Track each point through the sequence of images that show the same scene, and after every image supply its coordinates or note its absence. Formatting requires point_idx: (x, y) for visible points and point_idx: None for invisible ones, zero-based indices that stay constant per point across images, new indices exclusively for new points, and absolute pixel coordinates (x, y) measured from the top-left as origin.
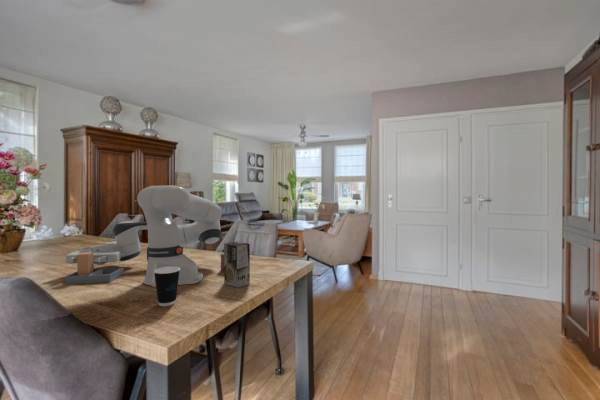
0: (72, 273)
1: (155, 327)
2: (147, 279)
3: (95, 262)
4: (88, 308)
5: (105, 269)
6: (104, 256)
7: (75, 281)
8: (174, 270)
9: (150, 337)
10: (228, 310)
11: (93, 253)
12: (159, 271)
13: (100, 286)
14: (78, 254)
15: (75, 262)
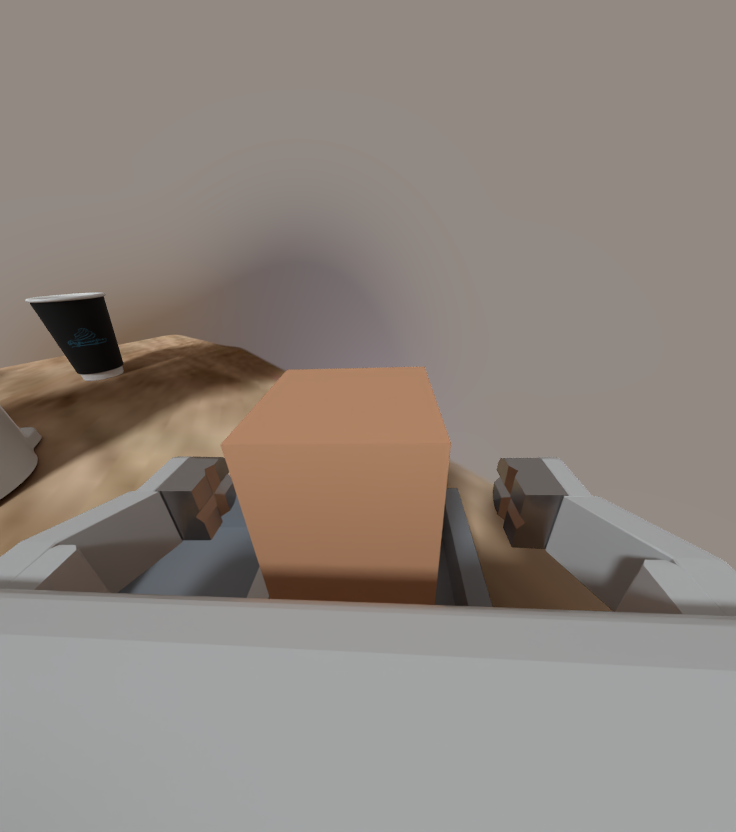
0: (474, 568)
1: (168, 344)
2: (16, 443)
3: (231, 493)
4: (254, 370)
5: None
6: (42, 542)
7: None
8: (36, 309)
9: (182, 338)
10: (41, 360)
11: (227, 465)
12: (77, 305)
13: None
14: (411, 368)
15: (507, 531)
